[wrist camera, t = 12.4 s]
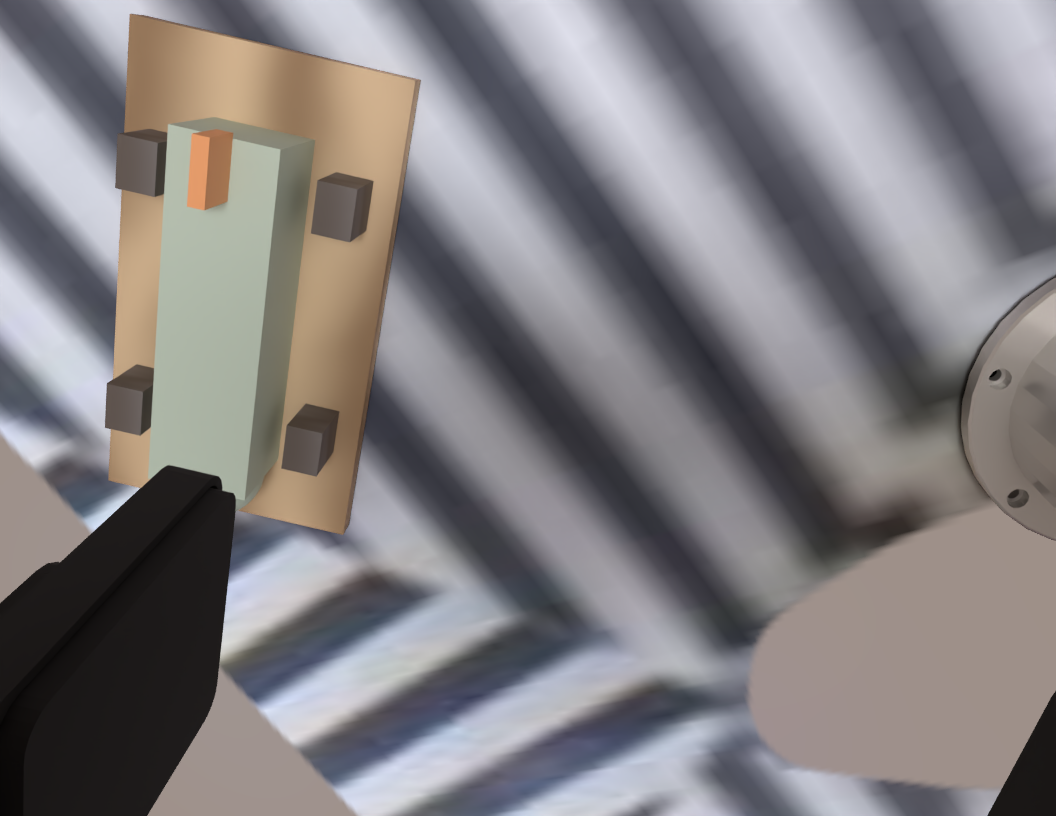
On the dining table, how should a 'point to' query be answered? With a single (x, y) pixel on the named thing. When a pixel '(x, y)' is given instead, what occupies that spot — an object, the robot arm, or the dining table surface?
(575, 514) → the dining table surface
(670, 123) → the dining table surface
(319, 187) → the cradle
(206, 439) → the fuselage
